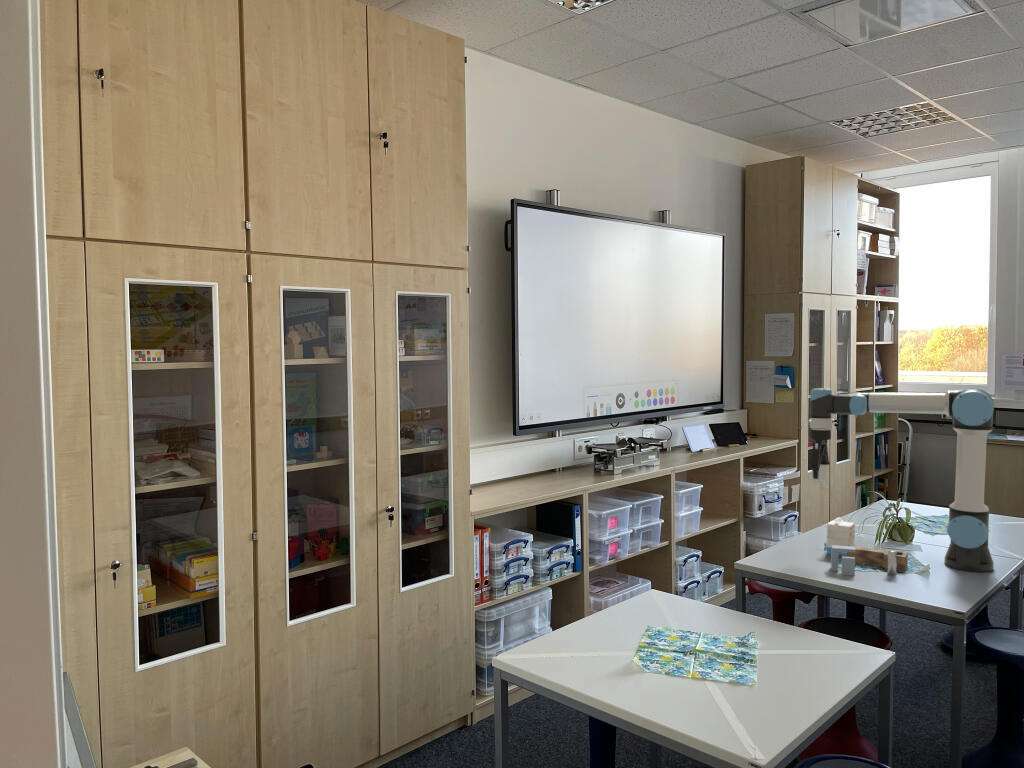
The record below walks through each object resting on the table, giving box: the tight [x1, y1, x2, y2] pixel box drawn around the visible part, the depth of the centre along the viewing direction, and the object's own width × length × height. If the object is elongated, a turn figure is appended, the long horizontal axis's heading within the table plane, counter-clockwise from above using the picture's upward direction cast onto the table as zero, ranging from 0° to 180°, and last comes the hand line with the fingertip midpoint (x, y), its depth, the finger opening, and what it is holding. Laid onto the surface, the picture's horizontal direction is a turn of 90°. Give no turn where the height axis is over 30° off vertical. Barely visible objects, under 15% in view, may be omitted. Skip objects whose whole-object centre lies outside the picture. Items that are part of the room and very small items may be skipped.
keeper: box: [830, 545, 856, 576], centre depth 262 cm, size 8×8×8 cm
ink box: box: [826, 516, 856, 557], centre depth 286 cm, size 9×8×13 cm
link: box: [847, 546, 909, 572], centre depth 271 cm, size 20×7×5 cm, turn 56°
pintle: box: [887, 549, 898, 576], centre depth 259 cm, size 3×3×8 cm
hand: (819, 484), depth 282 cm, fingers open, 13 cm apart
